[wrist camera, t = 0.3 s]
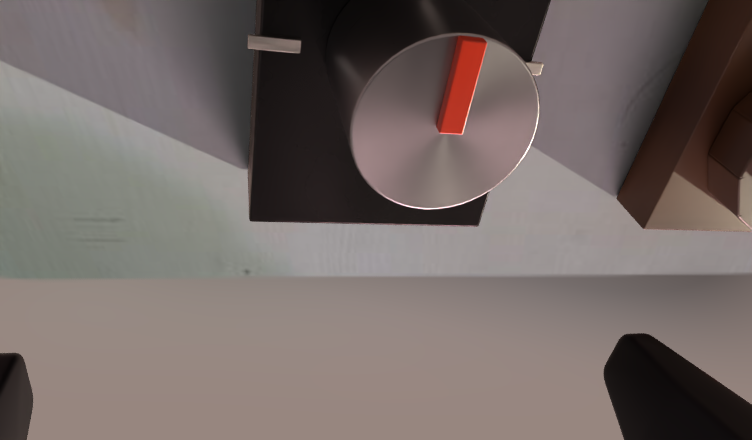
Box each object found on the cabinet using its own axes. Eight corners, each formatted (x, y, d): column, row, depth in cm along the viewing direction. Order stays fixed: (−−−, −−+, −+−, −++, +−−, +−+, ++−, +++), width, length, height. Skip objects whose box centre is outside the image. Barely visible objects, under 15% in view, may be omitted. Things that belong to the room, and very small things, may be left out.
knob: (457, 129, 19) (512, 219, 15) (317, 120, 18) (339, 215, 14) (495, -16, 16) (574, 49, 13) (336, -36, 15) (369, 27, 12)
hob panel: (461, 182, 24) (487, 230, 22) (239, 173, 22) (239, 224, 19) (564, -175, 17) (619, -165, 15) (256, -238, 15) (260, -239, 13)
